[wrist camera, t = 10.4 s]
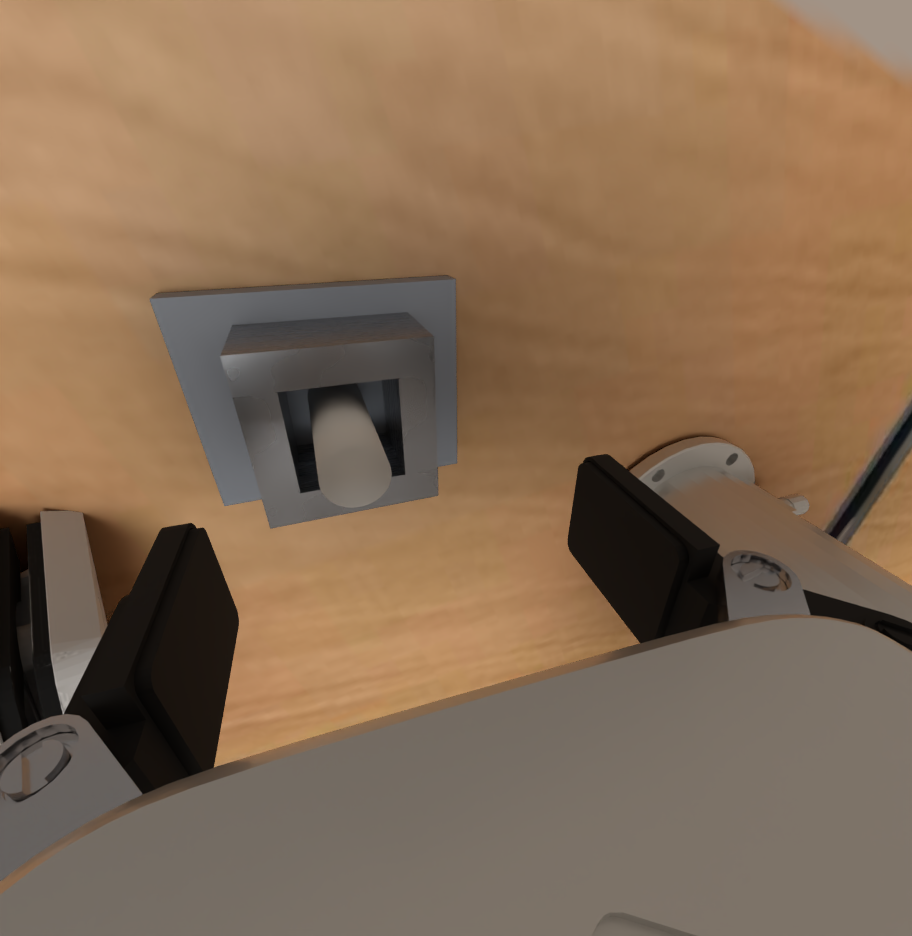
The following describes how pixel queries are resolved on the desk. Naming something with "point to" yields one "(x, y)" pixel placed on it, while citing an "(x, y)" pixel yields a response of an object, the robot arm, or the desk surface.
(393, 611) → the desk surface
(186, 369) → the keeper
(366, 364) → the grey square hollow block
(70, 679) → the grey slotted holder
